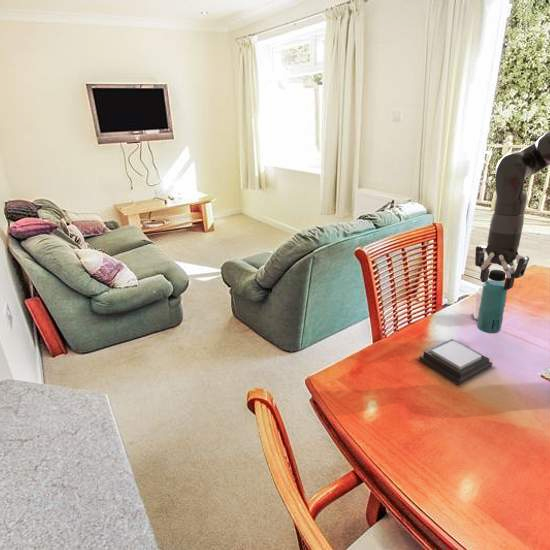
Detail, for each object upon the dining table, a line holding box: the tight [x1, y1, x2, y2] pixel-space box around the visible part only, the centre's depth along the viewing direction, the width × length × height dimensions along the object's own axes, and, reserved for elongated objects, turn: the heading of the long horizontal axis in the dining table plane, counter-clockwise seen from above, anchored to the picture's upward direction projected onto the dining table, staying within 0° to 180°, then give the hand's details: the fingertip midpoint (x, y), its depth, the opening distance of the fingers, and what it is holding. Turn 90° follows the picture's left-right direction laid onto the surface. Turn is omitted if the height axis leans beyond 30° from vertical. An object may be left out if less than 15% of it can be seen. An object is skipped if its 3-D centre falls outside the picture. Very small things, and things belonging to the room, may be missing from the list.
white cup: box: [473, 286, 483, 321], centre depth 127 cm, size 8×8×10 cm
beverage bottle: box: [476, 269, 508, 335], centre depth 110 cm, size 6×7×20 cm
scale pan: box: [431, 340, 483, 370], centre depth 106 cm, size 9×9×2 cm
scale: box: [418, 338, 493, 386], centre depth 106 cm, size 14×13×3 cm
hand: (495, 285), depth 107 cm, fingers closed on beverage bottle, 6 cm apart
